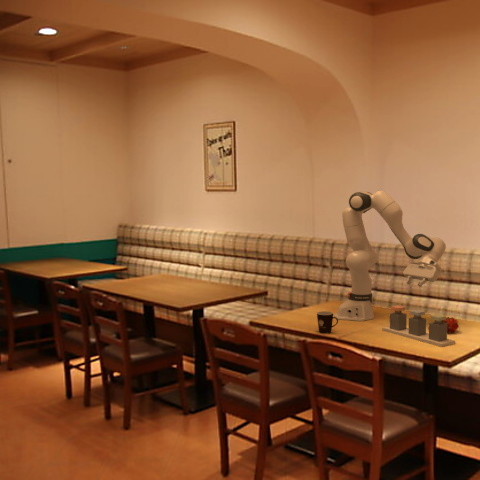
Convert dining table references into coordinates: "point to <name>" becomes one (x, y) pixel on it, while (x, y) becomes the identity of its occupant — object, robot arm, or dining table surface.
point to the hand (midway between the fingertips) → (413, 284)
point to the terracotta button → (398, 309)
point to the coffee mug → (325, 321)
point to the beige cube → (417, 313)
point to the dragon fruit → (451, 324)
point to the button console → (419, 330)
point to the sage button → (438, 318)
